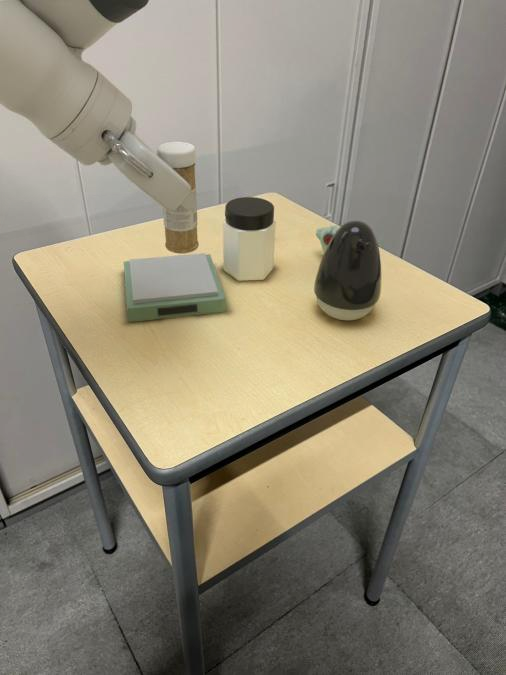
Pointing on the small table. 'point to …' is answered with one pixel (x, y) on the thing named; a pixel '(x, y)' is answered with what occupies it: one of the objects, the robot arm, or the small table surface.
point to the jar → (248, 238)
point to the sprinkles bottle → (181, 220)
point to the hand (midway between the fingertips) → (183, 195)
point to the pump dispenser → (349, 273)
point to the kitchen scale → (172, 287)
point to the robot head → (326, 235)
